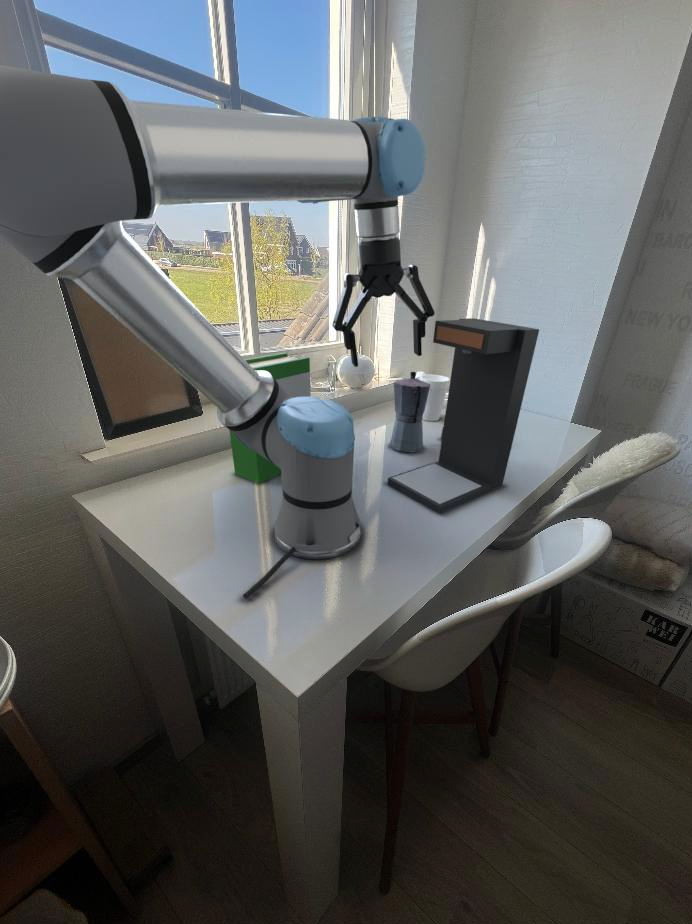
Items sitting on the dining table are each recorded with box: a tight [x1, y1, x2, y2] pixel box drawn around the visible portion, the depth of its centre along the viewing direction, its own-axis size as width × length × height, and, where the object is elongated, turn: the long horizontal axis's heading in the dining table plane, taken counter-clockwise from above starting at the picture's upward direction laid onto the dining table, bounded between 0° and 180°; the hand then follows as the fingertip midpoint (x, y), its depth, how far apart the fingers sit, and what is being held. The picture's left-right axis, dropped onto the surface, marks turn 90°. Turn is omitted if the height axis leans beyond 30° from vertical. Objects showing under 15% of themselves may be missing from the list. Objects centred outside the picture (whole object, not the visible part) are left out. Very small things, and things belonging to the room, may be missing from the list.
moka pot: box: [389, 371, 430, 453], centre depth 109 cm, size 10×15×20 cm, turn 12°
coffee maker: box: [387, 317, 540, 514], centre depth 88 cm, size 22×16×34 cm
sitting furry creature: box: [415, 370, 426, 380], centre depth 147 cm, size 10×9×12 cm
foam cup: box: [420, 373, 450, 422], centre depth 135 cm, size 10×9×13 cm
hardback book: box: [229, 352, 311, 484], centre depth 93 cm, size 18×7×24 cm, turn 148°
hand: (386, 359), depth 87 cm, fingers open, 13 cm apart
